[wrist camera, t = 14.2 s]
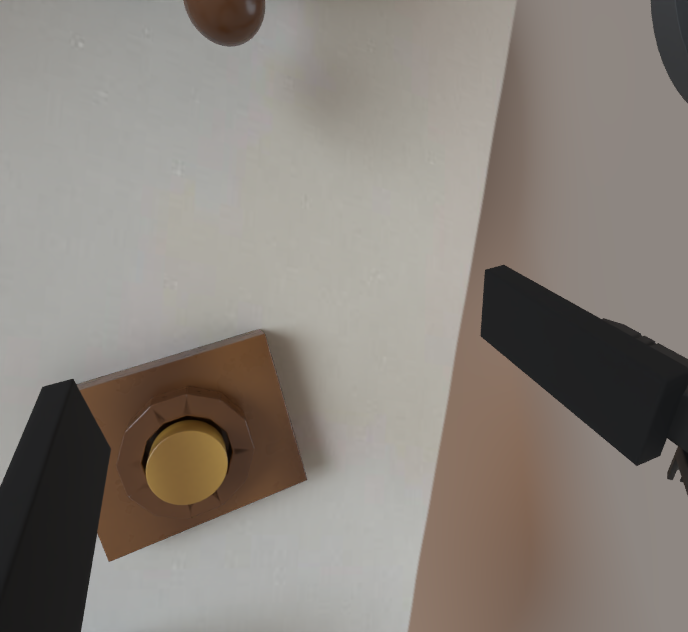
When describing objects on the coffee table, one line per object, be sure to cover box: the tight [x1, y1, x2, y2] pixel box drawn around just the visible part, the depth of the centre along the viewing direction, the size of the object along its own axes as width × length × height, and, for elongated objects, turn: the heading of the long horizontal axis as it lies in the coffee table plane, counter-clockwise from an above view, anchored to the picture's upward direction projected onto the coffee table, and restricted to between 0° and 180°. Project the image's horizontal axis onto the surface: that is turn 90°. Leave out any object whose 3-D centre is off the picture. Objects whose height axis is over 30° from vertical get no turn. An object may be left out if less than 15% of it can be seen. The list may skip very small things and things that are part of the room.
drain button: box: [146, 420, 228, 505], centre depth 23 cm, size 4×4×2 cm
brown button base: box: [76, 329, 307, 562], centre depth 25 cm, size 12×10×4 cm
